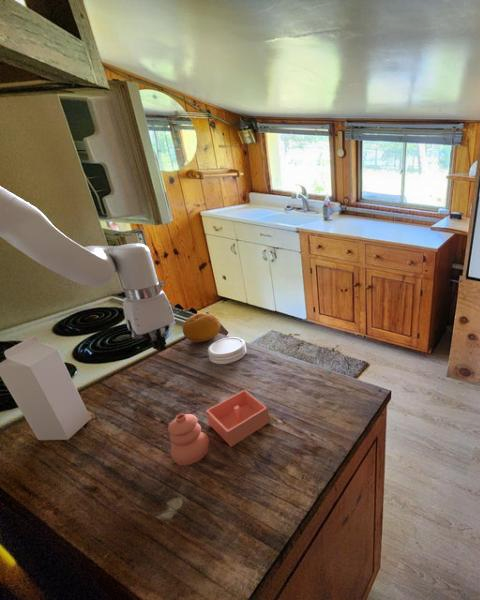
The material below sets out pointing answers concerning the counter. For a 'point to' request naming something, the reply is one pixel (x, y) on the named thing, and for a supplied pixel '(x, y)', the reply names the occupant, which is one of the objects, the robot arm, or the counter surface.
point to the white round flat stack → (227, 350)
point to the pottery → (216, 426)
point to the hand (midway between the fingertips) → (160, 348)
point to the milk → (43, 390)
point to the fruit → (201, 327)
